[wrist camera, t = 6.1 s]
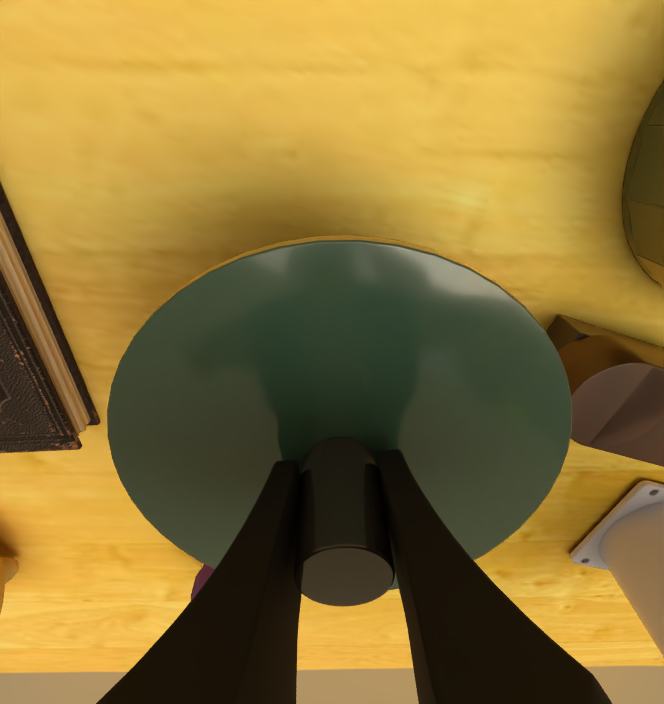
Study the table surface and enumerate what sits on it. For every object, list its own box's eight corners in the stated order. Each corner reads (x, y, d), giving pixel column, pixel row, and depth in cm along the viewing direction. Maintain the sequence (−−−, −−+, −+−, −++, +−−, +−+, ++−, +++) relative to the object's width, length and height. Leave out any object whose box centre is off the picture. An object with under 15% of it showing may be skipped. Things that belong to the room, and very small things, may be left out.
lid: (653, 317, 12) (832, 426, 7) (439, 593, 18) (472, 731, 14) (144, 147, 9) (2, 170, 5) (110, 532, 16) (35, 675, 12)
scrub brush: (703, 354, 21) (788, 407, 17) (646, 419, 23) (710, 479, 19) (550, 304, 19) (604, 350, 16) (503, 378, 21) (542, 435, 18)
